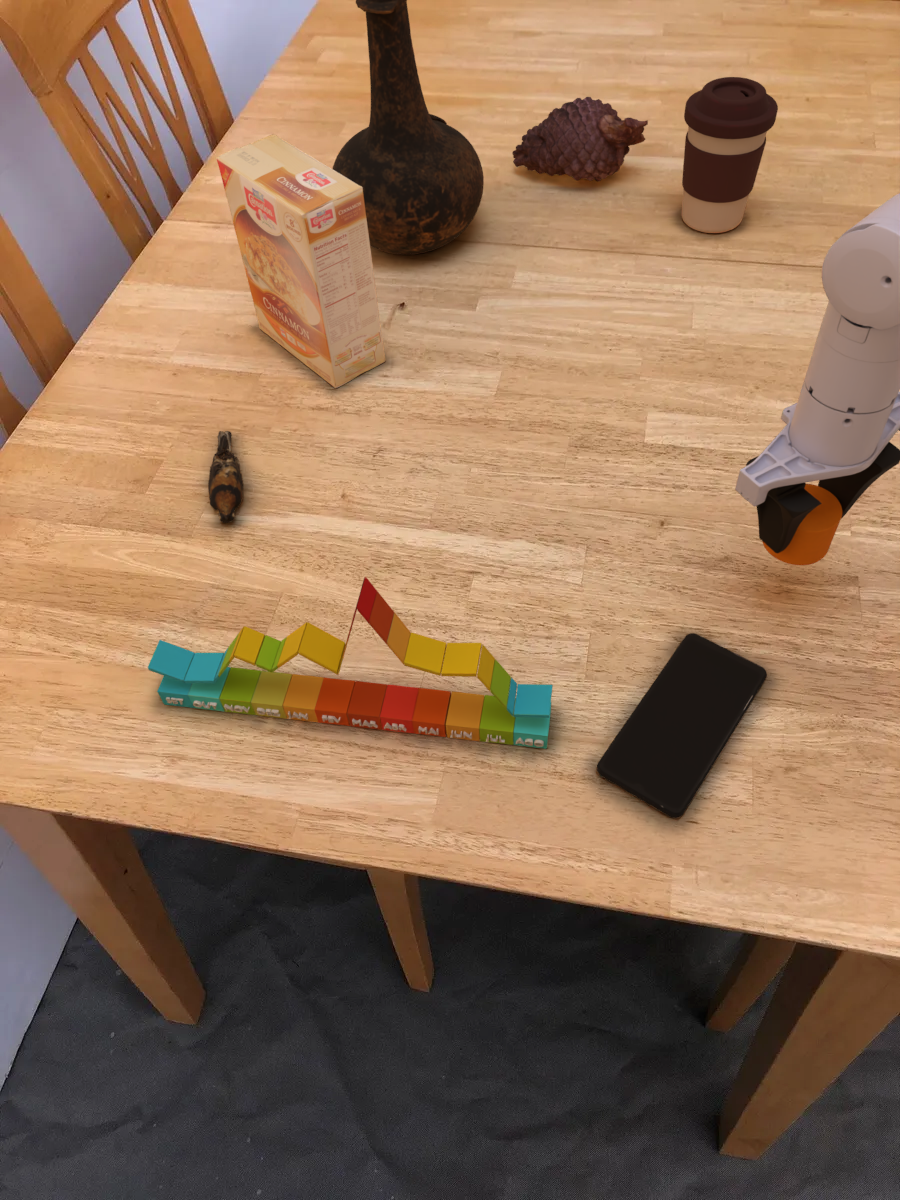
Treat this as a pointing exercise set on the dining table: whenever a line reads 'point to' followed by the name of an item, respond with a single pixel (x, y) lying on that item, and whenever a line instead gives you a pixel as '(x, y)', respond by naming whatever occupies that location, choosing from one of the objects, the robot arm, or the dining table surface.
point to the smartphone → (682, 724)
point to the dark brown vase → (407, 149)
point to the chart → (359, 683)
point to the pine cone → (579, 141)
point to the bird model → (225, 480)
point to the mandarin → (813, 530)
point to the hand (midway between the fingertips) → (799, 528)
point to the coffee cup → (723, 151)
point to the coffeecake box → (305, 256)
